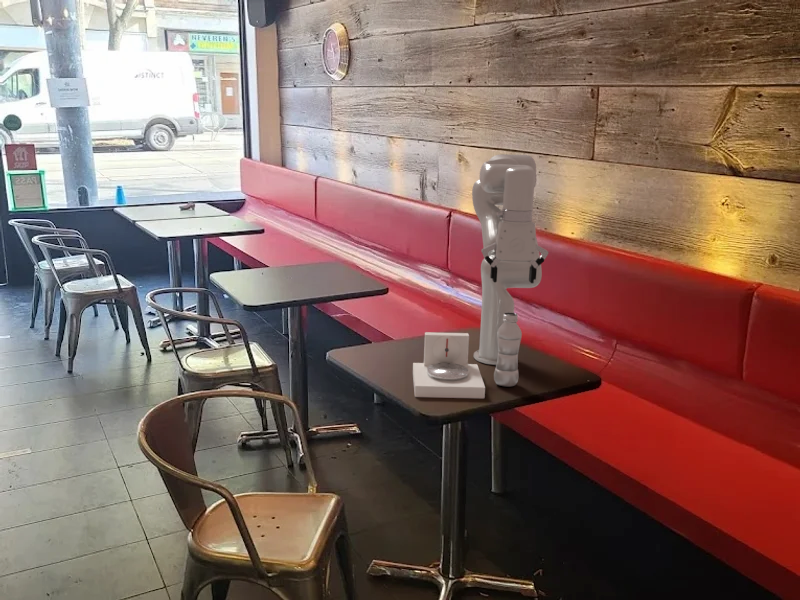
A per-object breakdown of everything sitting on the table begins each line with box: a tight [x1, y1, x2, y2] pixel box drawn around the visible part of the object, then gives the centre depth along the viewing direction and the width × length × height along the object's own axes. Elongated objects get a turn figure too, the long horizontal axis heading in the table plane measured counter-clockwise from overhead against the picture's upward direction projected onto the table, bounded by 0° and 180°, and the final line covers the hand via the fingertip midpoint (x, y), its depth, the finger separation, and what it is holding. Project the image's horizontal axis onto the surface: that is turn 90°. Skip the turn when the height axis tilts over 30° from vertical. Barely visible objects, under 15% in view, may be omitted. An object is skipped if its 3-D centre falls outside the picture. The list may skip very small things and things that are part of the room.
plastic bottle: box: [493, 312, 523, 388], centre depth 201 cm, size 6×7×20 cm
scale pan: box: [427, 363, 468, 380], centre depth 201 cm, size 11×11×1 cm
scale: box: [412, 331, 486, 399], centre depth 201 cm, size 18×18×12 cm
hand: (512, 281), depth 196 cm, fingers open, 9 cm apart
